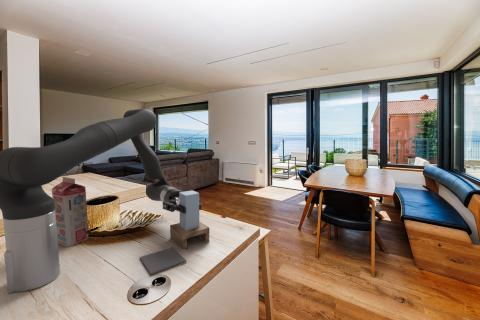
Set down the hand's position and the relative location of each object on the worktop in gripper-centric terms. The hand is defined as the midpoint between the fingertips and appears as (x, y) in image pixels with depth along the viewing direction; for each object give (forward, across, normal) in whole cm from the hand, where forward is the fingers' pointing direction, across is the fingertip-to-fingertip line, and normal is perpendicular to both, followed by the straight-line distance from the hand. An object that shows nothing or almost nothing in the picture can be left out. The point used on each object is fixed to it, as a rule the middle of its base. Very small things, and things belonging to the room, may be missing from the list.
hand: (192, 208), depth 74 cm
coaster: (+4, -12, +12) cm, 18 cm away
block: (-3, 0, +7) cm, 7 cm away
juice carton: (-27, -32, +12) cm, 43 cm away
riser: (-3, 0, +12) cm, 12 cm away
